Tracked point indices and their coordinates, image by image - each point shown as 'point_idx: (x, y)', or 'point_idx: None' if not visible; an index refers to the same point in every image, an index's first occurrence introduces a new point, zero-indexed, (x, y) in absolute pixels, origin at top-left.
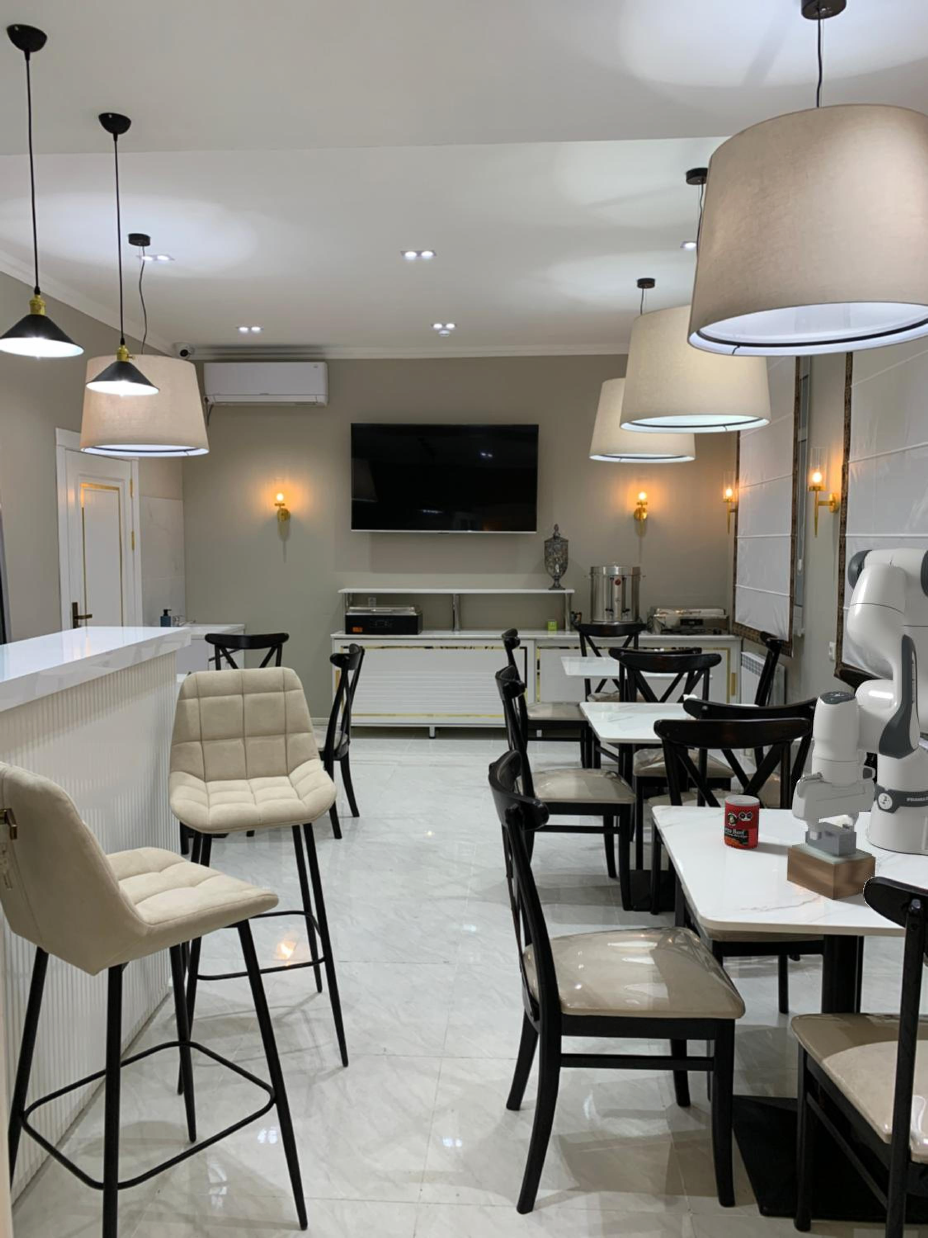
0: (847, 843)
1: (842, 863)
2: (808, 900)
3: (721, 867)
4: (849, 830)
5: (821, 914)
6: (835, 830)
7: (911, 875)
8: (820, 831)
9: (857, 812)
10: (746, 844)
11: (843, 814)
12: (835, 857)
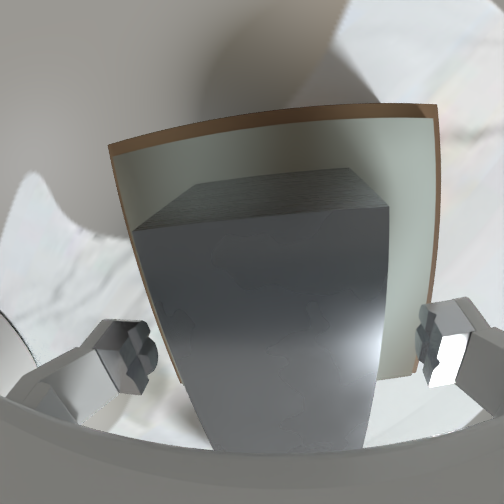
0: (266, 191)
1: (369, 108)
2: (455, 142)
3: (444, 394)
4: (164, 294)
5: (484, 50)
6: (294, 335)
7: (23, 213)
8: (455, 336)
9: (8, 401)
10: None
11: (169, 451)
12: (372, 169)
